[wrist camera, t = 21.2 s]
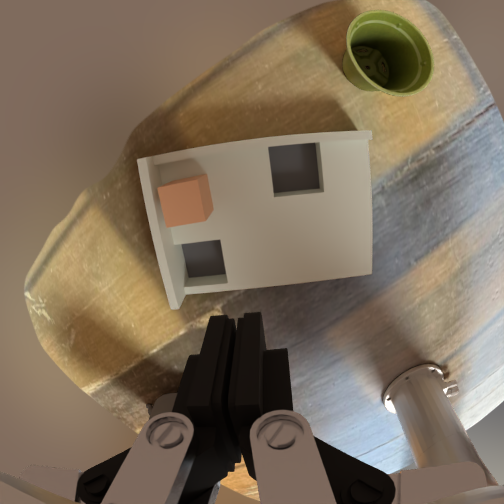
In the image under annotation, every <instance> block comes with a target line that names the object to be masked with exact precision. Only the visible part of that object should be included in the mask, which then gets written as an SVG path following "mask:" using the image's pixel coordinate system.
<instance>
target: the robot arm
mask: <svg viewBox="0 0 504 504" xmlns="http://www.w3.org/2000/svg"><path fill="white" fill-rule="evenodd" d="M456 385H457V382H456V380H452V381H449V382H447V383H446V382H444V375H443V372H442V371H441V369H440V368H439V367H438V366H436V365H433V364H424V365H420V366H416V367H414V368H411V369H410V370H408V371H406V372H404V373H403V374H401V375H400V376H399V377H397V378H396V379H395V380H394V381H393V382H392V383H391V384H390V386H389V387H388V388H387V390H386V392H385V394H384V397H383V402H384V406H385V408H386V409H387V410H388V411H389V412H391V413H395V414H397V416H398V418H399V421H400V424H401V426H402V429H403V431H404V434H405V437H406V439H407V442H408V445H409V447H410V450H411V453H412V456H413V458H414V461H415V464H416V467H417V469H412V470H402V471H400V473H398V474H386V473H384V472H383V471H381V470H379V469H377V468H374V467H372V466H370V465H368V464H366V463H364V462H362V461H360V460H358V459H356V458H354V457H352V456H350V455H348V454H346V453H344V452H342V451H340V450H338V449H336V448H335V447H333V446H331V445H329V444H327V443H325V442H323V441H322V440H320V439H318V438H316V437H315V436H313V433H312V431H311V428H310V425H309V423H308V421H307V420H306V419H305V418H304V417H303V416H302V415H301V414H299V413H296V412H294V411H293V403H292V392H291V382H290V371H289V361H288V351H287V348H283V349H273V350H266V344H265V336H264V329H263V322H262V315H261V312H254V313H244V318H238V323H237V331H236V325H235V321H234V319H229V318H228V316H227V315H218V316H210V319H209V323H208V326H207V330H206V333H205V337H204V341H203V344H202V348H201V352H200V354H197V355H190V356H189V358H188V360H187V363H186V366H185V370H184V373H183V376H182V379H181V383H180V386H179V389H178V392H177V396H176V399H175V402H174V406H173V409H172V412H167V413H162V414H159V415H156V416H154V417H152V418H151V419H150V420H148V421H147V422H146V424H145V425H144V426H143V428H142V429H141V431H140V433H139V435H138V437H137V439H136V440H135V442H134V444H133V446H132V447H131V448H129V449H127V450H125V451H124V452H122V453H120V454H118V455H116V456H114V457H112V458H110V459H108V460H106V461H104V462H102V463H100V464H98V465H96V466H94V467H92V468H90V469H88V470H87V471H85V472H81V471H80V470H79V469H66V468H56V467H47V466H39V465H30V466H28V467H26V468H25V469H24V470H23V471H22V472H21V474H20V477H19V478H17V477H15V476H12V475H9V474H6V473H3V472H0V504H215V501H216V498H217V494H218V491H219V488H220V481H221V480H222V479H223V478H225V477H226V476H227V475H228V472H234V469H235V463H240V462H241V456H242V455H243V458H244V461H245V464H246V467H247V470H248V473H249V476H251V477H252V478H253V479H255V480H256V481H257V485H258V491H259V497H260V503H261V504H504V485H498V483H497V481H496V480H495V478H494V477H493V476H492V474H491V473H490V472H489V470H488V469H487V467H486V466H485V464H484V463H483V461H482V460H481V458H480V457H479V455H478V453H477V451H476V449H475V448H474V446H473V444H472V442H471V440H470V438H469V436H468V434H467V432H466V431H465V429H464V427H463V425H462V423H461V421H460V419H459V417H458V415H457V414H456V412H455V410H454V408H453V406H452V404H451V403H450V401H449V399H448V397H451V396H454V395H457V394H458V392H459V390H458V387H457V386H456Z"/></svg>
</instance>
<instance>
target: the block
mask: <svg viewBox="0 0 504 504" xmlns="http://www.w3.org/2000/svg"><path fill="white" fill-rule="evenodd" d="M157 189H158V193H159V198H160V202H161V207H162V211H163V215H164V220H165V224H166V228H169V227H175V226H180V225H186V224H192V223H198V222H204V221H206V220H207V219H208V217H209V216H210V214H211V213H212V212H213V210H214V208H213V202H212V197H211V192H210V187H209V182H208V176H207V174H204V175H199V176H193V177H188V178H184V179H179V180H174V181H171V182H169V183H167V184H164V185H162V186H160V187H158V188H157Z"/></svg>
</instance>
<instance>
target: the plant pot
mask: <svg viewBox="0 0 504 504" xmlns="http://www.w3.org/2000/svg"><path fill="white" fill-rule="evenodd" d="M346 47H347V49H346V52H345V54H344V57H343V61H342V66H343V71H344V73H345V75H346V77H347V79H348V80H349V81H350V82H351V83H352V84H354V85H355V86H356V87H358V88H359V89H362V90H365V91H382V92H384V93H386V94H389V95H393V96H402V97H403V96H411V95H415V94H417V93H419V92H421V91H422V90H423V89H425V88H426V87H427V85H428V84H429V82H430V81H431V79H432V76H433V72H434V58H433V53H432V51H431V48H430V45H429V43H428V41H427V40H426V38H425V37H424V35H423V34H422V32H421V31H420V30H419V29H418V28H417V27H416V26H415V25H414V24H413V23H411V22H410V21H409V20H408V19H406V18H404V17H402V16H400V15H398V14H396V13H393V12H390V11H386V10H370V11H366V12H363V13H361V14H359V15H358V16H357V17H356V18H355V19H354V20H353V21H352V22H351V23H350V25H349V27H348V30H347V34H346ZM362 49H365V50H367V52H357V50H362ZM381 62H382V63H383V64H384V66H385V68H386V71H385V72H383V66H382V63H381ZM366 66H369V69H366Z"/></svg>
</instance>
